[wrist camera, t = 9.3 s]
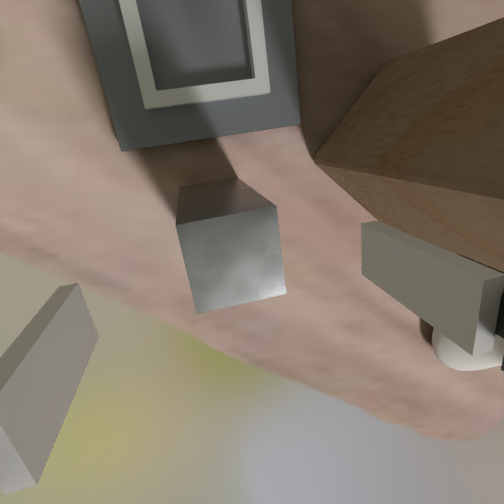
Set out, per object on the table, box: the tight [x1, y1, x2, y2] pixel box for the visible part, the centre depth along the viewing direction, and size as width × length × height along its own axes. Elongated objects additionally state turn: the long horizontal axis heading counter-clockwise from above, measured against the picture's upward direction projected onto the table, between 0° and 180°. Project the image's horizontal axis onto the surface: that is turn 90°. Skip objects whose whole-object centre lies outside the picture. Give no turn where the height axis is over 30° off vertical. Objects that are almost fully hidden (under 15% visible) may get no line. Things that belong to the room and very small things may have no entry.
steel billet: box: [176, 178, 286, 314], centre depth 22 cm, size 5×5×12 cm
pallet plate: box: [79, 0, 301, 152], centre depth 21 cm, size 14×14×2 cm
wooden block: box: [313, 18, 504, 272], centre depth 19 cm, size 10×10×20 cm
